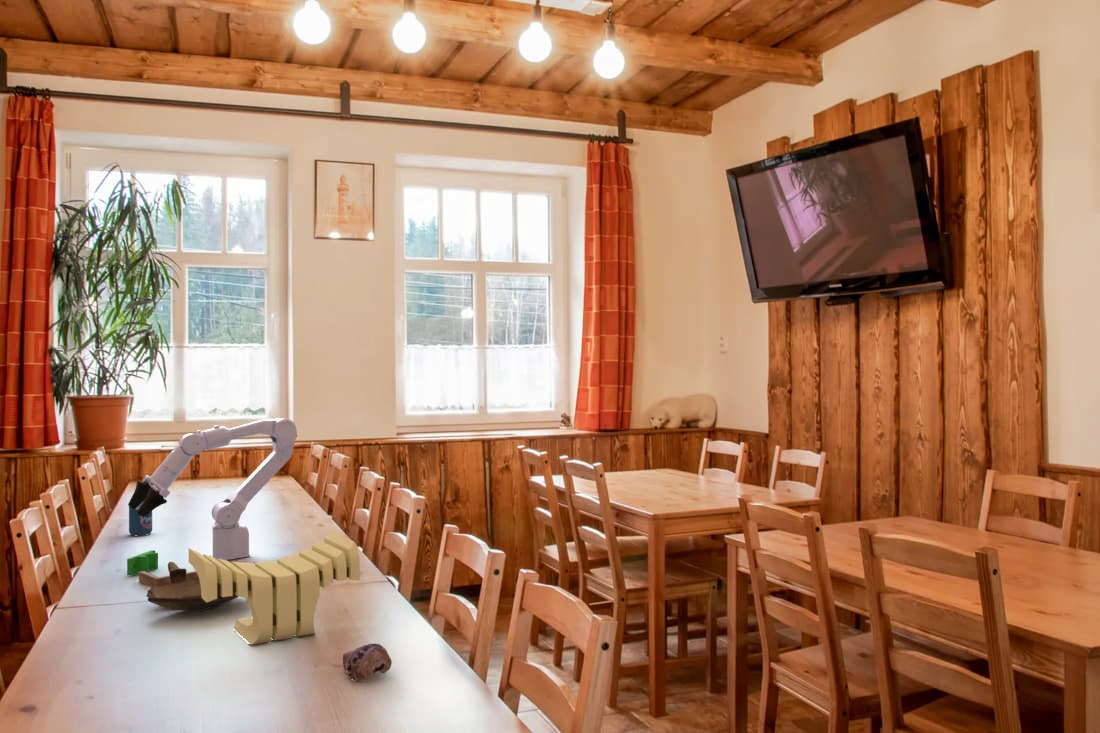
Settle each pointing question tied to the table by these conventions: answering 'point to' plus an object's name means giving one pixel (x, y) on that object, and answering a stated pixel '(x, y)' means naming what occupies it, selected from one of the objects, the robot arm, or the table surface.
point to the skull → (366, 661)
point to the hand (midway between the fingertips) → (135, 511)
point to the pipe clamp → (142, 562)
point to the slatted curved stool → (279, 586)
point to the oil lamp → (183, 593)
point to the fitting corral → (162, 578)
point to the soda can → (139, 522)
